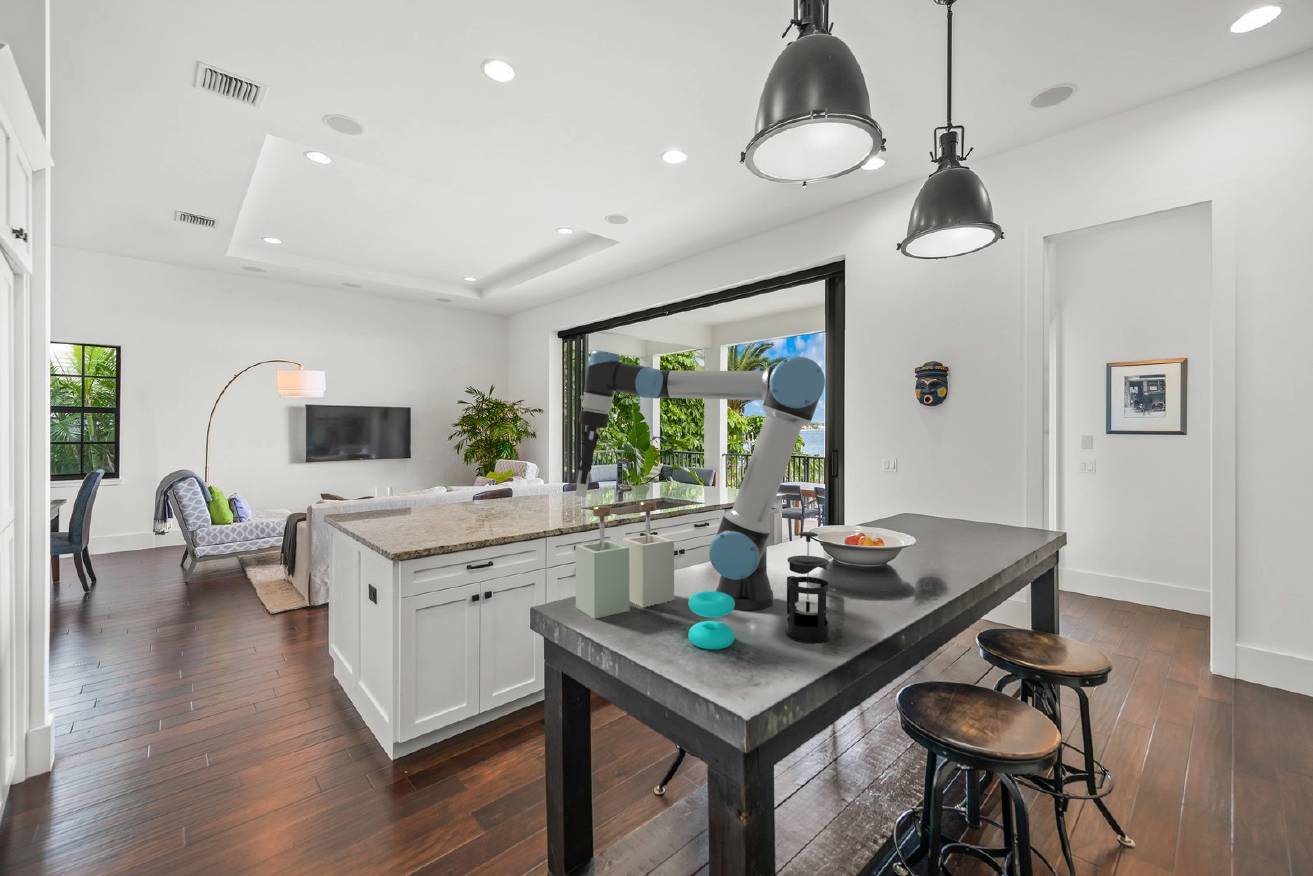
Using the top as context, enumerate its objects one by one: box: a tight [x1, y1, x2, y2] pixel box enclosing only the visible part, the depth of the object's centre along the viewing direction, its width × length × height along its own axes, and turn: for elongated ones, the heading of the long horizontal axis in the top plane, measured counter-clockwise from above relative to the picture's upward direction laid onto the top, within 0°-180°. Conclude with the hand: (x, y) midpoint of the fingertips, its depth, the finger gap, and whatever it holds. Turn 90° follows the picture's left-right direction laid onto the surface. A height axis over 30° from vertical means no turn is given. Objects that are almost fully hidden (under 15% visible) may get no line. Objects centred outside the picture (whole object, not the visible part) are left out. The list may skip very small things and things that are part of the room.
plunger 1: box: [592, 505, 612, 551], centre depth 140 cm, size 7×7×13 cm
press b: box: [574, 540, 631, 620], centre depth 140 cm, size 10×10×16 cm
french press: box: [785, 531, 831, 645], centre depth 123 cm, size 12×9×23 cm
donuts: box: [687, 590, 736, 650], centre depth 119 cm, size 10×10×10 cm
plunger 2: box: [639, 501, 657, 544], centre depth 148 cm, size 7×7×13 cm
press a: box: [621, 534, 675, 608], centre depth 148 cm, size 10×10×16 cm
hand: (581, 490), depth 145 cm, fingers open, 13 cm apart
